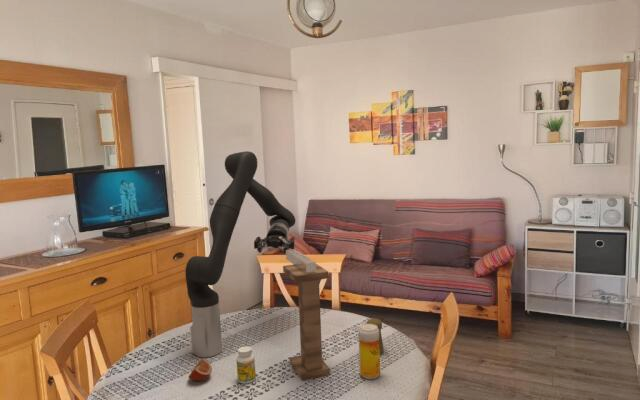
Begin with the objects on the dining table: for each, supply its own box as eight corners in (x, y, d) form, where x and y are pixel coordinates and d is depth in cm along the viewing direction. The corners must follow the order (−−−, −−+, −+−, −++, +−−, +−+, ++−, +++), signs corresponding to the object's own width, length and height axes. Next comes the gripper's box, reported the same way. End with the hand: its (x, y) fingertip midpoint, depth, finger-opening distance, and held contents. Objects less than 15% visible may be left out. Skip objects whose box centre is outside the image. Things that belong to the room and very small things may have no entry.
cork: (385, 355, 154) (384, 323, 153) (366, 355, 154) (365, 323, 153) (382, 347, 160) (382, 316, 159) (365, 347, 160) (364, 316, 159)
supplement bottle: (258, 376, 143) (257, 346, 142) (251, 385, 138) (249, 353, 137) (242, 374, 145) (240, 344, 144) (234, 383, 140) (232, 352, 139)
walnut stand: (287, 363, 151) (283, 265, 147) (317, 357, 154) (313, 261, 151) (300, 381, 139) (296, 276, 135) (332, 374, 142) (328, 271, 139)
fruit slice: (194, 372, 148) (193, 357, 147) (215, 372, 147) (214, 356, 147) (185, 385, 139) (184, 369, 139) (207, 385, 139) (206, 369, 138)
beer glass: (381, 379, 138) (380, 330, 137) (360, 380, 138) (359, 331, 137) (379, 369, 144) (377, 322, 143) (359, 370, 144) (357, 323, 143)
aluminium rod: (286, 259, 156) (285, 250, 155) (294, 257, 157) (294, 249, 156) (306, 273, 137) (306, 263, 137) (316, 272, 138) (315, 262, 138)
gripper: (258, 225, 177) (251, 239, 161) (296, 225, 177) (292, 240, 161) (259, 244, 179) (252, 260, 163) (296, 244, 178) (293, 260, 163)
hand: (272, 250), depth 162 cm, fingers open, 8 cm apart
